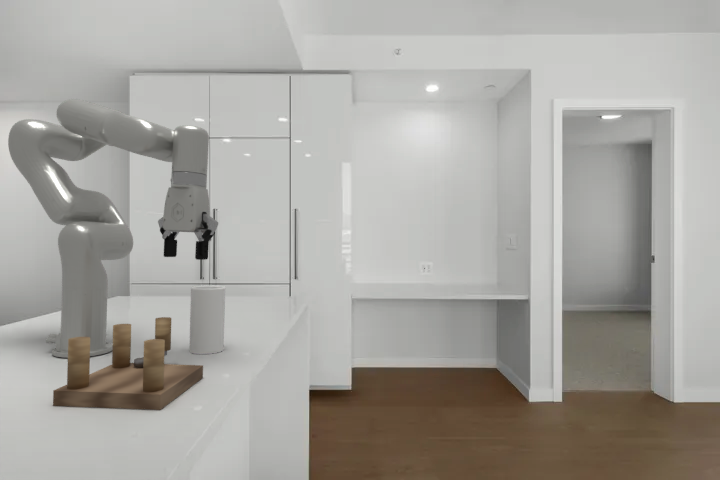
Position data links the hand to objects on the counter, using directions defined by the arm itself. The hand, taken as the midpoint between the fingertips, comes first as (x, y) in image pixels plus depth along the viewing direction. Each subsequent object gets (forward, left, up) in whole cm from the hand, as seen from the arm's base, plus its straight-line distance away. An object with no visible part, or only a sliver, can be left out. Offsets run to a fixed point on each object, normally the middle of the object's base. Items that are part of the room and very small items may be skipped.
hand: (185, 258), depth 104 cm
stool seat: (0, -19, -24) cm, 31 cm away
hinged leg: (-3, -8, -21) cm, 23 cm away
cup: (+1, +13, -24) cm, 27 cm away
